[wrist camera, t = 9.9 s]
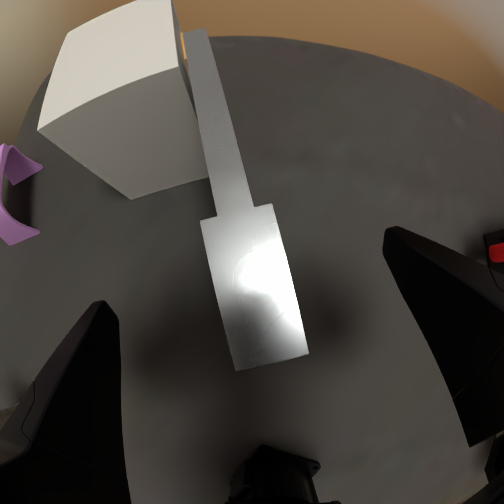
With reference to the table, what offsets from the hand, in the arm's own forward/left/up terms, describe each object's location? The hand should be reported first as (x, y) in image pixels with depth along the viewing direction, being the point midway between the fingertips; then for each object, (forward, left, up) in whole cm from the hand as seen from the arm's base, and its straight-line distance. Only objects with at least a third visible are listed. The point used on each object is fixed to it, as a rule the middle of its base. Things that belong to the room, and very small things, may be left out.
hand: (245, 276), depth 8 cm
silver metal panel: (+3, -4, -13) cm, 14 cm away
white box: (+13, -7, -14) cm, 20 cm away
